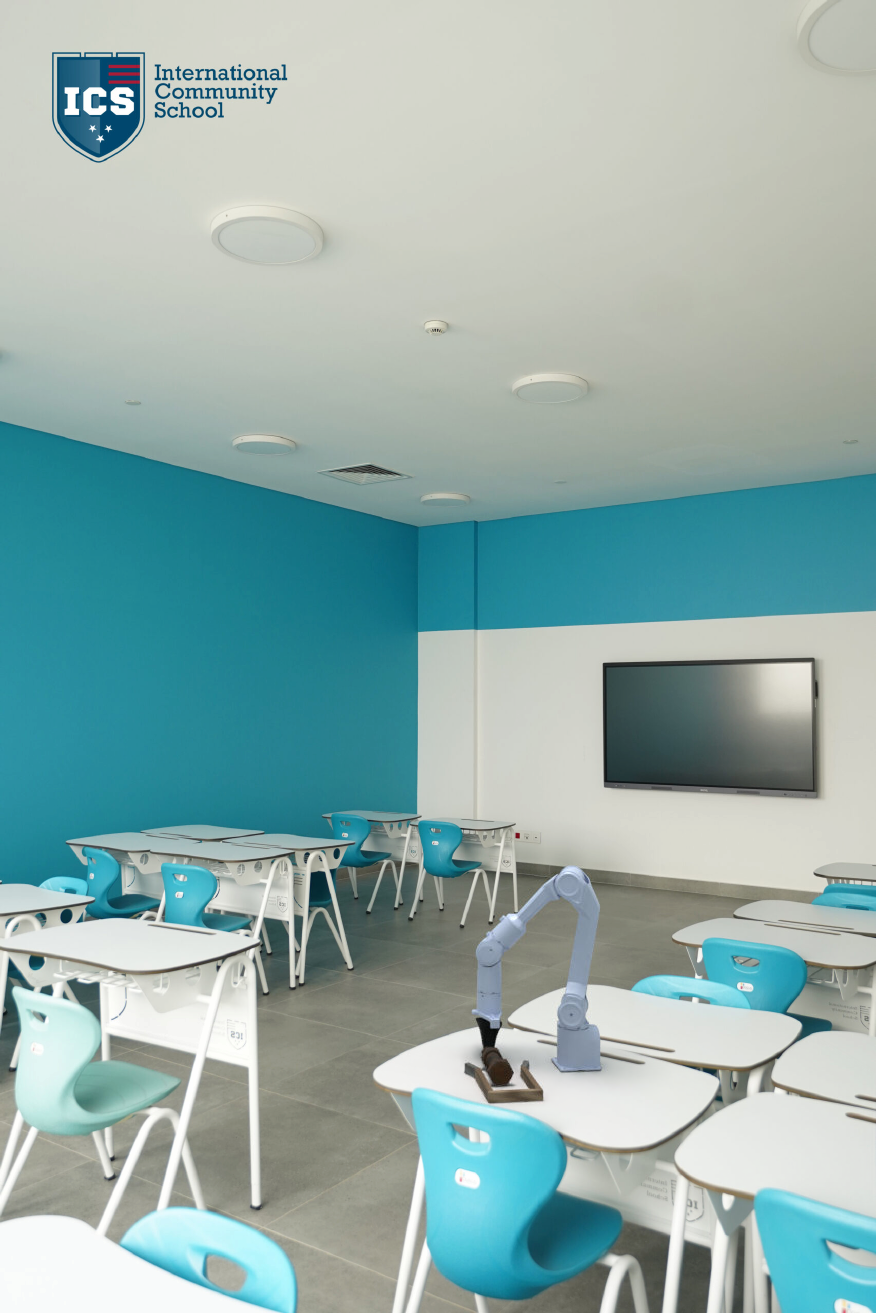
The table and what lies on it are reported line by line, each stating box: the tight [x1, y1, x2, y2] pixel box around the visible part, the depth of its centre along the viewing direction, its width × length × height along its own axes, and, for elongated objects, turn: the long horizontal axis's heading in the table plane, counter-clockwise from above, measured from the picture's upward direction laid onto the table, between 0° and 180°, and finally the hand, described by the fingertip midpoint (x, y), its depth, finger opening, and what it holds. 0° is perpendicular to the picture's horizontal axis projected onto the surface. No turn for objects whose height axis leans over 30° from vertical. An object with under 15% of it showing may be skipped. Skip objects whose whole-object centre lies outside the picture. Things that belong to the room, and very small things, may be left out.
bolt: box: [480, 1046, 515, 1087], centre depth 210 cm, size 6×5×15 cm
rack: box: [464, 1059, 544, 1104], centre depth 203 cm, size 15×18×2 cm
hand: (488, 1050), depth 220 cm, fingers closed
